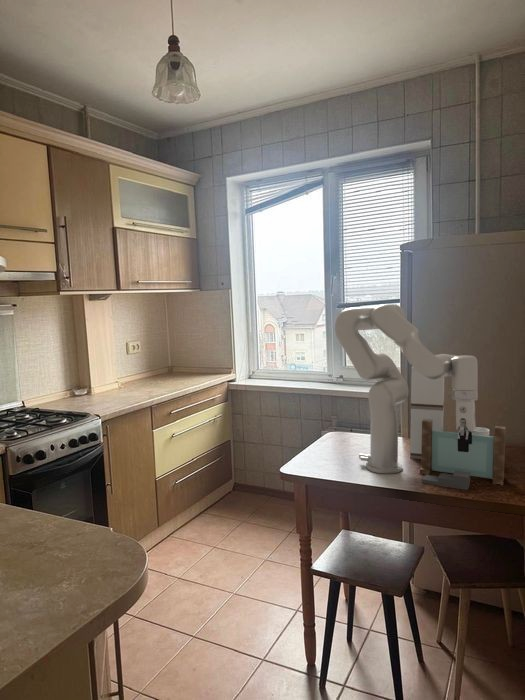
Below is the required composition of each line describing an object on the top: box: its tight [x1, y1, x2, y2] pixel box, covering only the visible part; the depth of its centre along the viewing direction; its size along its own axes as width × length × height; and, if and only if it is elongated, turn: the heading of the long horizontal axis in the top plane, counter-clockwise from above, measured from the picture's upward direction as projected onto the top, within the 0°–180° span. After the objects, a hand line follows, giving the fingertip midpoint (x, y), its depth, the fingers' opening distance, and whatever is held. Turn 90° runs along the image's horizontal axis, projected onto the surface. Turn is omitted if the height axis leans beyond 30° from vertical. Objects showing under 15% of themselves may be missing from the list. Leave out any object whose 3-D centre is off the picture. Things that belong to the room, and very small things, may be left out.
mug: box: [472, 426, 490, 436], centre depth 186 cm, size 10×7×12 cm, turn 131°
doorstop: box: [421, 470, 471, 491], centre depth 163 cm, size 5×14×4 cm, turn 60°
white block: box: [409, 366, 445, 460], centre depth 191 cm, size 11×11×35 cm
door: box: [431, 430, 495, 480], centre depth 170 cm, size 19×1×14 cm, turn 62°
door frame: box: [419, 419, 506, 486], centre depth 169 cm, size 26×8×18 cm, turn 62°
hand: (465, 447), depth 159 cm, fingers open, 9 cm apart
